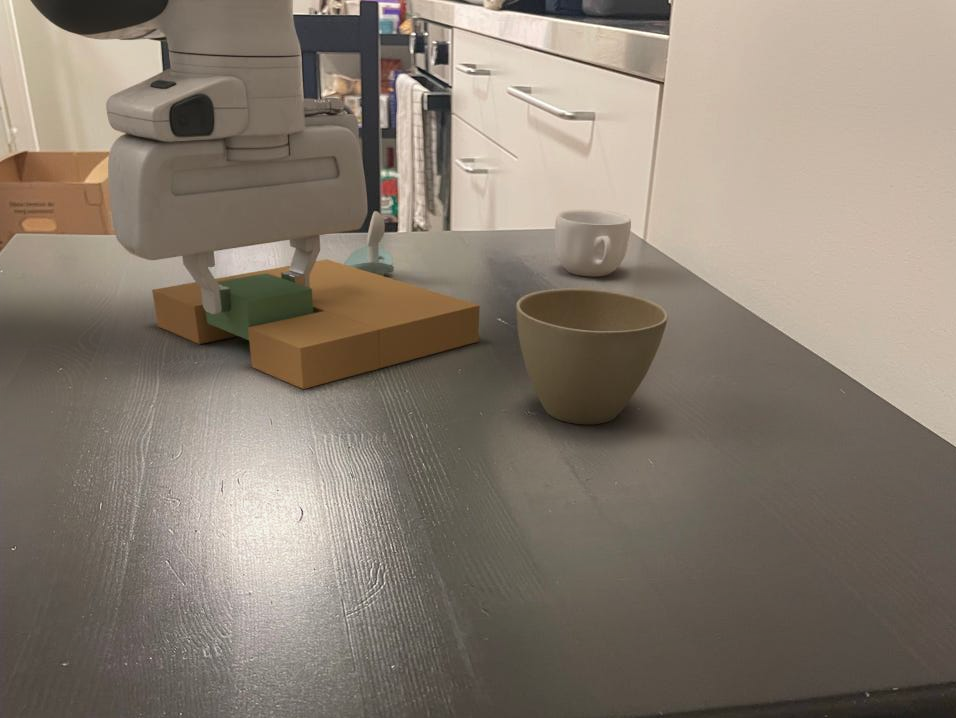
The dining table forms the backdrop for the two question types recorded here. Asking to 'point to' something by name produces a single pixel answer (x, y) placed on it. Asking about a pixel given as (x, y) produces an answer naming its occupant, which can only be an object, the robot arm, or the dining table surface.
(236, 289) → the green block
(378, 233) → the pacifier
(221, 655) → the dining table surface
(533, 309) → the bowl
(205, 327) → the brown notched block
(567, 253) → the teacup
